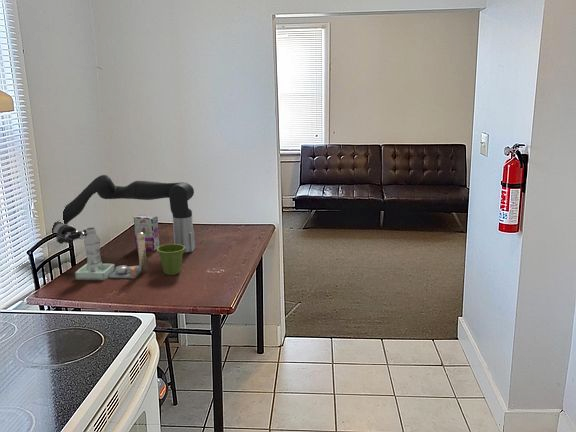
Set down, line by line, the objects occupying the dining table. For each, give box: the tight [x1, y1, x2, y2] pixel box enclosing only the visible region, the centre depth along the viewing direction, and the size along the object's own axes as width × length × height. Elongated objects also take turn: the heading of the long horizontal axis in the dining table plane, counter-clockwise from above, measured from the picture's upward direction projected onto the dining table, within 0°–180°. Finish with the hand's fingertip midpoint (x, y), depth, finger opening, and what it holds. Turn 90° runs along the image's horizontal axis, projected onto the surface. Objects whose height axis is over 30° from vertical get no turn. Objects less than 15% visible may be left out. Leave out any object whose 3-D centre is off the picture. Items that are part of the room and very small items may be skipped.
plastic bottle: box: [83, 227, 104, 272], centre depth 232 cm, size 6×7×20 cm
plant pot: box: [156, 243, 185, 276], centre depth 236 cm, size 12×12×11 cm
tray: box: [74, 263, 116, 281], centre depth 234 cm, size 13×12×3 cm
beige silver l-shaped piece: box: [115, 232, 148, 274], centre depth 234 cm, size 13×5×17 cm, turn 106°
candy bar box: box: [133, 214, 161, 252], centre depth 269 cm, size 11×5×16 cm, turn 68°
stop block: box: [131, 267, 135, 275], centre depth 233 cm, size 2×3×3 cm, turn 18°
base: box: [108, 269, 142, 279], centre depth 235 cm, size 11×8×1 cm
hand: (81, 239), depth 238 cm, fingers open, 8 cm apart
